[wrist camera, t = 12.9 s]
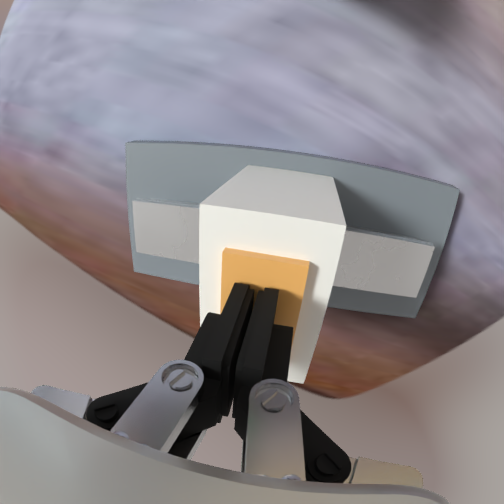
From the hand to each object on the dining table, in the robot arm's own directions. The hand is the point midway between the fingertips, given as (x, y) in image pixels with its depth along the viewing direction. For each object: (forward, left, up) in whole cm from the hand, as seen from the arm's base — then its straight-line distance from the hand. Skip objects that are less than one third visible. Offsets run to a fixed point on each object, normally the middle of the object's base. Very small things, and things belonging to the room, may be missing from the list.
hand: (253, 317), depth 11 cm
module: (0, 0, -8) cm, 8 cm away
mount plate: (0, 0, -10) cm, 10 cm away
